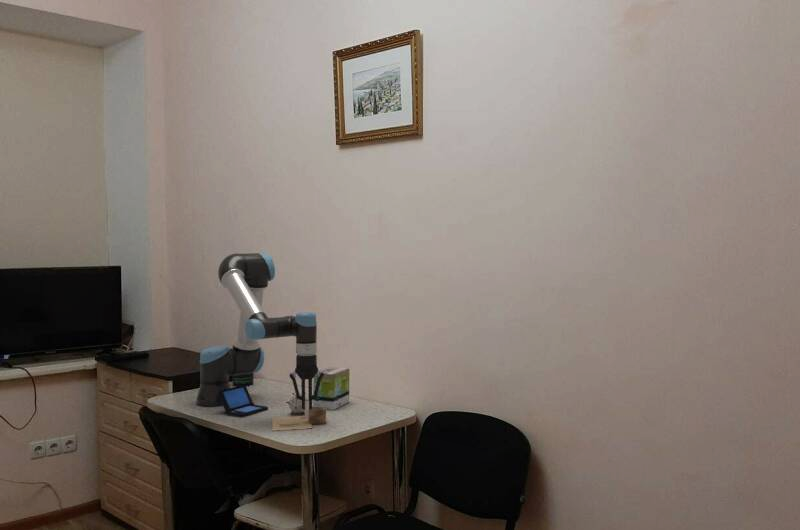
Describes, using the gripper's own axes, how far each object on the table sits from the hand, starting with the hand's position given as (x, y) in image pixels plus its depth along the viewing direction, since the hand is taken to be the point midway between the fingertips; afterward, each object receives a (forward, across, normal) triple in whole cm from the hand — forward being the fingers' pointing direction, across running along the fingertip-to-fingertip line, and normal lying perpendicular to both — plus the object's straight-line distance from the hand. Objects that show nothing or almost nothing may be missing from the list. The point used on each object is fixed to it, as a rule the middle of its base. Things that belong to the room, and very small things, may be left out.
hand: (307, 417), depth 243 cm
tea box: (+2, +12, +26) cm, 29 cm away
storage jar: (+2, -26, +78) cm, 83 cm away
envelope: (+2, -6, 0) cm, 6 cm away
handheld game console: (+2, -24, +24) cm, 34 cm away
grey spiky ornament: (+2, -3, +15) cm, 16 cm away
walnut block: (+2, +4, 0) cm, 4 cm away
